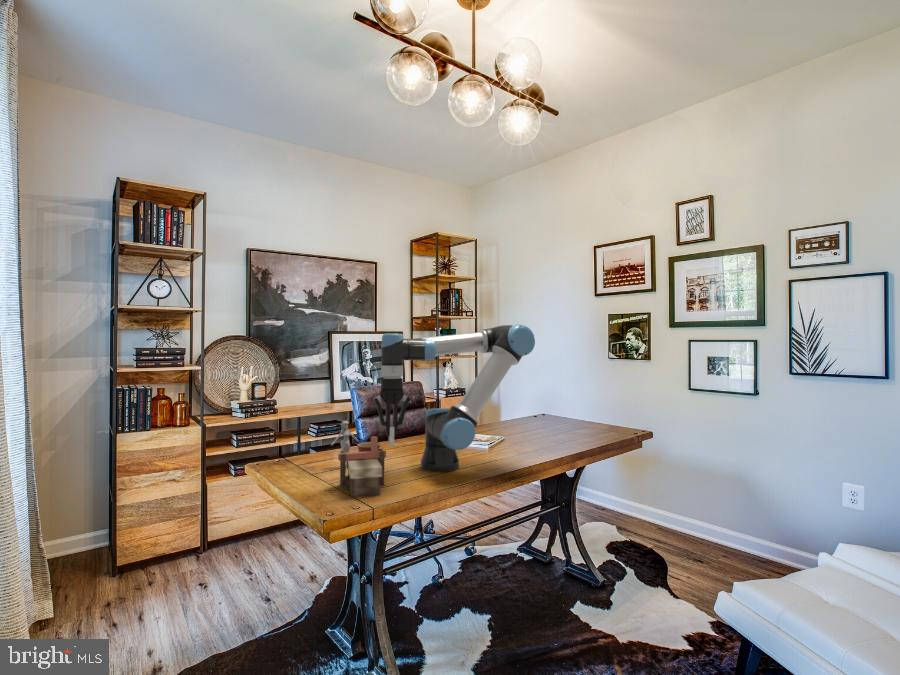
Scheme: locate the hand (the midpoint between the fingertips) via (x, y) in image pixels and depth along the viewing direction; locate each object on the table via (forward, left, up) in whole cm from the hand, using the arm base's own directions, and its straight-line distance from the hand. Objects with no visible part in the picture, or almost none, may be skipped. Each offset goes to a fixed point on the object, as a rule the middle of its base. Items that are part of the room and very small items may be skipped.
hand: (391, 445), depth 163 cm
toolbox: (+10, +4, -13) cm, 17 cm away
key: (+10, 0, -4) cm, 11 cm away
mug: (+5, -15, -14) cm, 20 cm away
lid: (+10, +4, -7) cm, 13 cm away
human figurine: (+14, -25, -13) cm, 31 cm away
